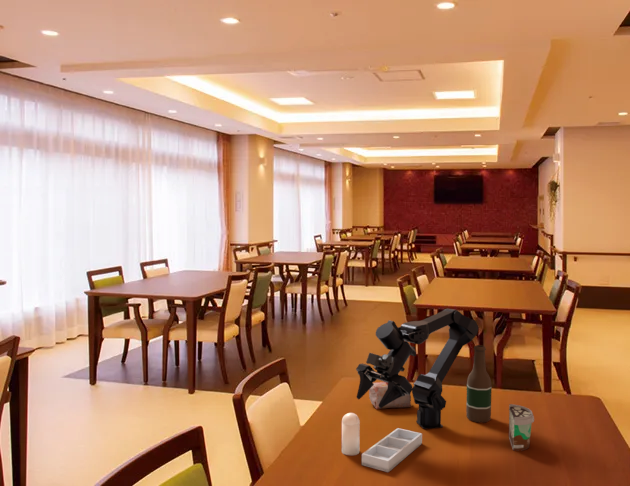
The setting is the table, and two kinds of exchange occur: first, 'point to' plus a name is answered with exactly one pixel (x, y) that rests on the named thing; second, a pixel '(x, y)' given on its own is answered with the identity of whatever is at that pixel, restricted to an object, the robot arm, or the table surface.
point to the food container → (520, 426)
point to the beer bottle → (479, 389)
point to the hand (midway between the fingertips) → (368, 402)
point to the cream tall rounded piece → (350, 434)
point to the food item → (378, 392)
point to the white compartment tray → (391, 449)
